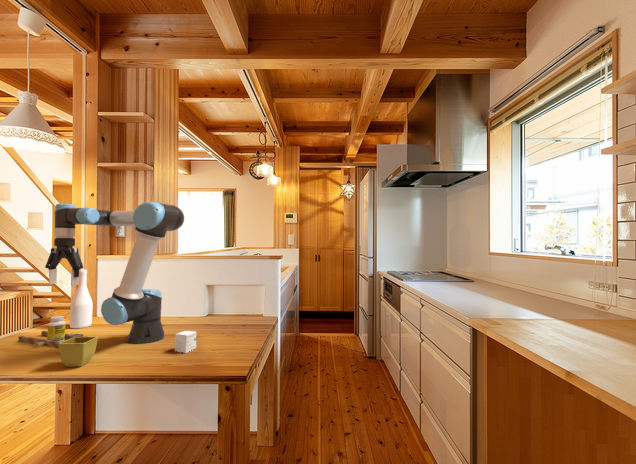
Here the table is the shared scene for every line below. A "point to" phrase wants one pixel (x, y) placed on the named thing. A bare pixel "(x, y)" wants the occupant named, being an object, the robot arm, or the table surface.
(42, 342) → the forked driftwood branch
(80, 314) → the wine bottle
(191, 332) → the skincare box
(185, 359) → the table surface
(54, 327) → the pill bottle
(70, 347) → the flower pot
